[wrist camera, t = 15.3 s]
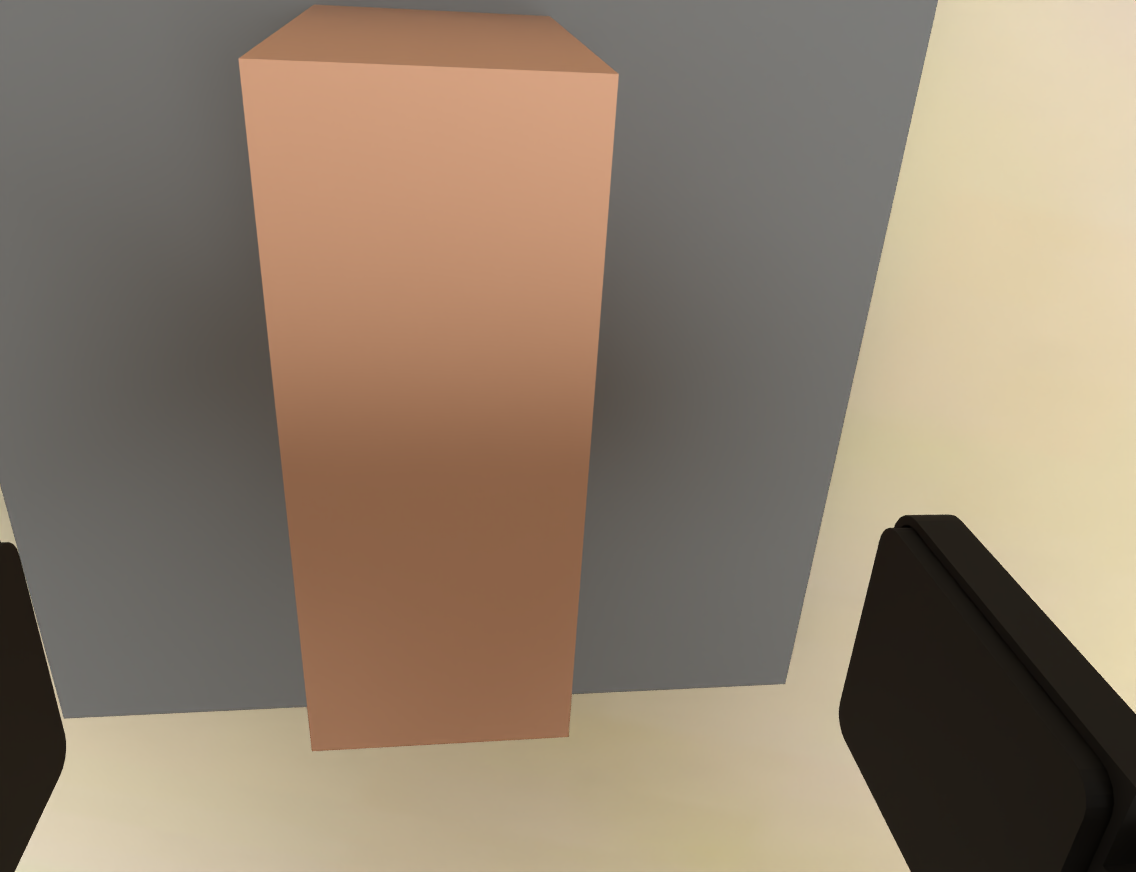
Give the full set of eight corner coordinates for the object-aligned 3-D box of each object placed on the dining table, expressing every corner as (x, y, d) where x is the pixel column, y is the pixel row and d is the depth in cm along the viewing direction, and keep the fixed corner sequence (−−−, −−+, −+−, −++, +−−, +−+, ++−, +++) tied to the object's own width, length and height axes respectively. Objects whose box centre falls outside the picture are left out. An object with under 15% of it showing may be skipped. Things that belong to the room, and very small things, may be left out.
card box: (550, 16, 16) (619, 74, 10) (529, 500, 21) (568, 736, 15) (313, 4, 16) (238, 57, 10) (347, 504, 21) (311, 751, 14)
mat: (773, 657, 26) (785, 683, 25) (77, 688, 23) (64, 718, 22) (991, -375, 15) (1025, -393, 14) (-232, -518, 13) (-281, -550, 12)
